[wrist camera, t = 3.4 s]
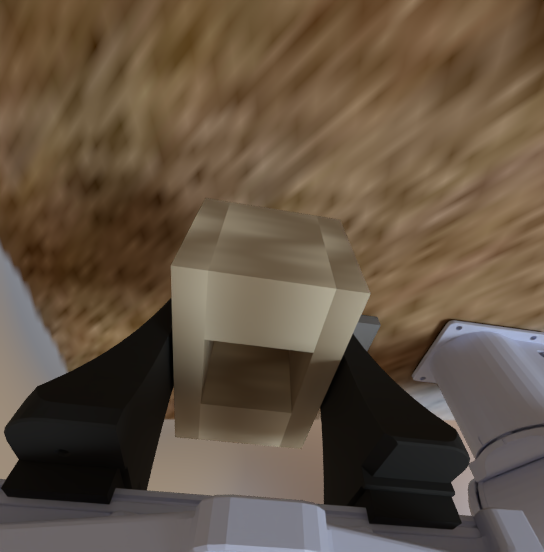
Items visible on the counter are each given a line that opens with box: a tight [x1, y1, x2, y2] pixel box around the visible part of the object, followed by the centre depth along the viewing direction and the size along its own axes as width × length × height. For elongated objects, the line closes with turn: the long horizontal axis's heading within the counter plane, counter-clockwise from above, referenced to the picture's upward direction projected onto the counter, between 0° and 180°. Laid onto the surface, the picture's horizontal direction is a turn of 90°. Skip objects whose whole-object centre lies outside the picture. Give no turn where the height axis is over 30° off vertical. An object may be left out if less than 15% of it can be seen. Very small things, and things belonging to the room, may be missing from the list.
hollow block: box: [171, 198, 371, 449], centre depth 13 cm, size 6×9×5 cm, turn 171°
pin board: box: [353, 315, 380, 351], centre depth 27 cm, size 14×10×5 cm
